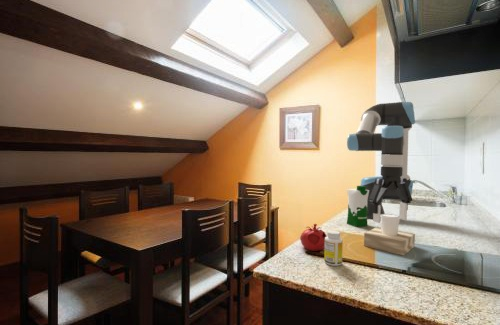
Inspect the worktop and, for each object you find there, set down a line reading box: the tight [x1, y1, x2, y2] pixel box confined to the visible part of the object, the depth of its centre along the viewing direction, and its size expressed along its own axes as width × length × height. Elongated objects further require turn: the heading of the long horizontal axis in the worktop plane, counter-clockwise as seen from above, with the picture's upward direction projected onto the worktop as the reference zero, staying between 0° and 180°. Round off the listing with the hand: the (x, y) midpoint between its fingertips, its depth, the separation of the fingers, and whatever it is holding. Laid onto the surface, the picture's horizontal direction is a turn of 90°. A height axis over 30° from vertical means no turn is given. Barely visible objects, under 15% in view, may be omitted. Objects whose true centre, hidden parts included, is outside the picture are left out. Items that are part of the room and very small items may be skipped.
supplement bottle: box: [323, 229, 344, 267], centre depth 89 cm, size 6×6×10 cm
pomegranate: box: [299, 223, 327, 252], centre depth 103 cm, size 10×10×9 cm
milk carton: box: [346, 185, 369, 228], centre depth 140 cm, size 9×9×20 cm
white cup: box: [380, 213, 401, 235], centre depth 107 cm, size 7×7×7 cm
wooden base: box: [363, 226, 416, 256], centre depth 107 cm, size 14×14×5 cm
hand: (390, 220), depth 107 cm, fingers open, 13 cm apart
